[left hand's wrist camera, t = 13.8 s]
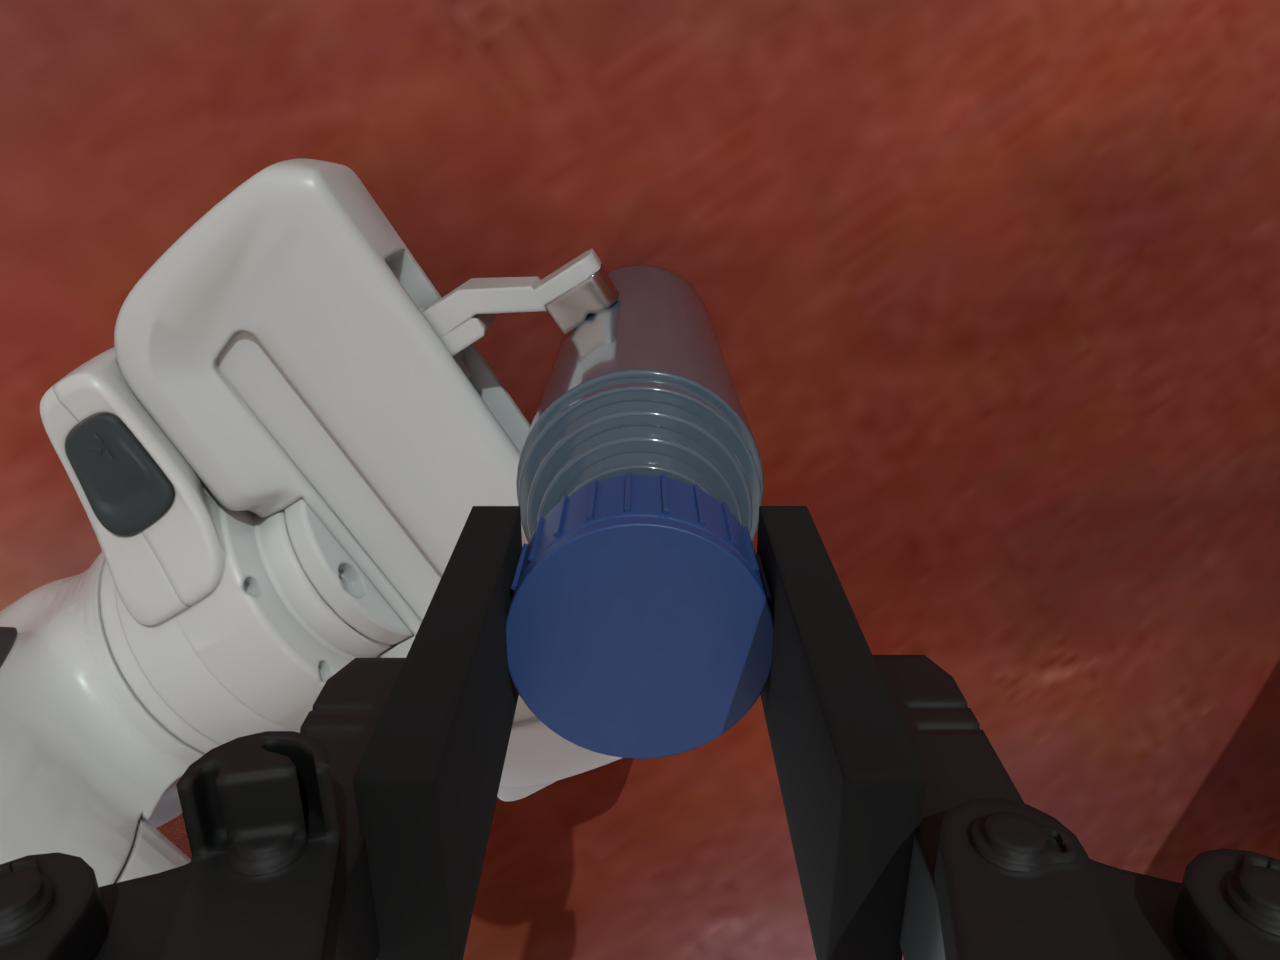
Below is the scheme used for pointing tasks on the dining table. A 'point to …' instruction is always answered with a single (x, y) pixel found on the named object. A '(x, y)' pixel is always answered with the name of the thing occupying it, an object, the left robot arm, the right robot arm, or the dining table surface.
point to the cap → (639, 618)
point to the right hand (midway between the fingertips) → (665, 368)
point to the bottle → (641, 404)
